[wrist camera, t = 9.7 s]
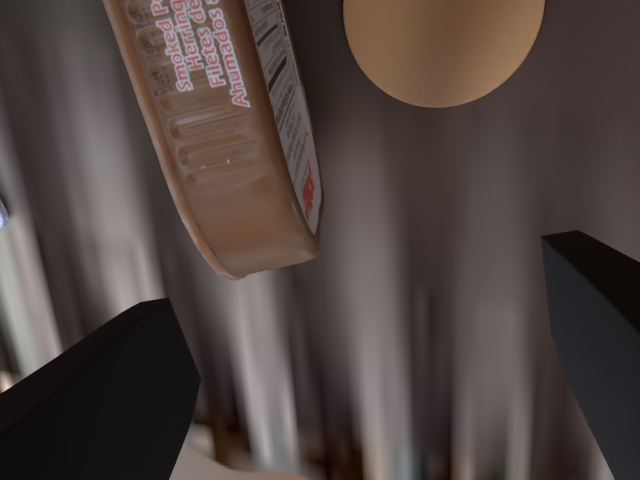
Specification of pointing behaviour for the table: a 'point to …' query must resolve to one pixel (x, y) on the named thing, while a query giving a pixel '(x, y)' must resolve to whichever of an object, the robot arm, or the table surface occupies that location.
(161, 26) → the tin
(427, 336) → the table surface
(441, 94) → the cork coaster
